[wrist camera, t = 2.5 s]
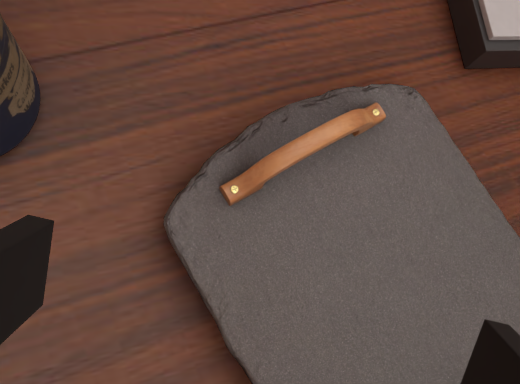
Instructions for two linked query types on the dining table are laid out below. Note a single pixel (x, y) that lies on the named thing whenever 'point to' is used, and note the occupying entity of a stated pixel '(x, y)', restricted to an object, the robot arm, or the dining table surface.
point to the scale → (487, 32)
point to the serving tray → (347, 244)
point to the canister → (15, 92)
